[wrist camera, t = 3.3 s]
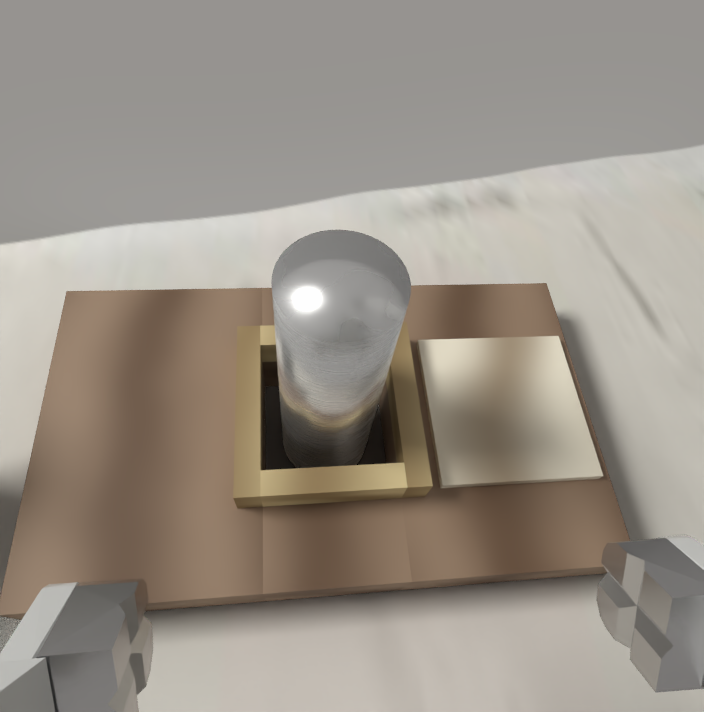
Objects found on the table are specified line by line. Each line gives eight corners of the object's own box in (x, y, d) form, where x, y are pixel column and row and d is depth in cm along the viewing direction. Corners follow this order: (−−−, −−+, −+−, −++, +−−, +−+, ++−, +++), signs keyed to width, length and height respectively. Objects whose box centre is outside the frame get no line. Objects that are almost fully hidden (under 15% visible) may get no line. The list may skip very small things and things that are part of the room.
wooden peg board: (529, 310, 31) (558, 264, 27) (607, 573, 24) (659, 556, 20) (84, 320, 28) (54, 271, 24) (27, 620, 21) (-26, 611, 18)
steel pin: (362, 397, 27) (401, 229, 17) (370, 475, 25) (420, 339, 15) (281, 400, 27) (270, 229, 16) (283, 480, 25) (272, 343, 14)
